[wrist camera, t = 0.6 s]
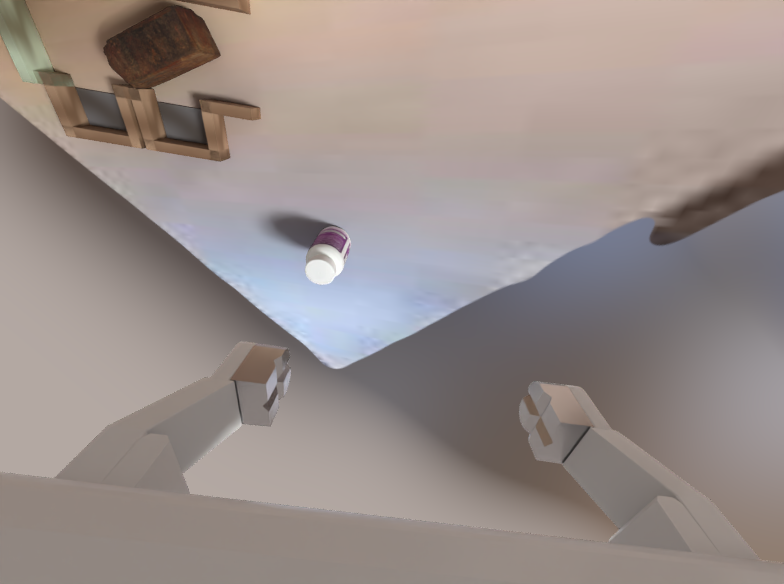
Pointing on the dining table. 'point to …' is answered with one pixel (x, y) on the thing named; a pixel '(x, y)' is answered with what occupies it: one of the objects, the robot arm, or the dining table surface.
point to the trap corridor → (122, 98)
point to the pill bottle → (327, 255)
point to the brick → (161, 47)
